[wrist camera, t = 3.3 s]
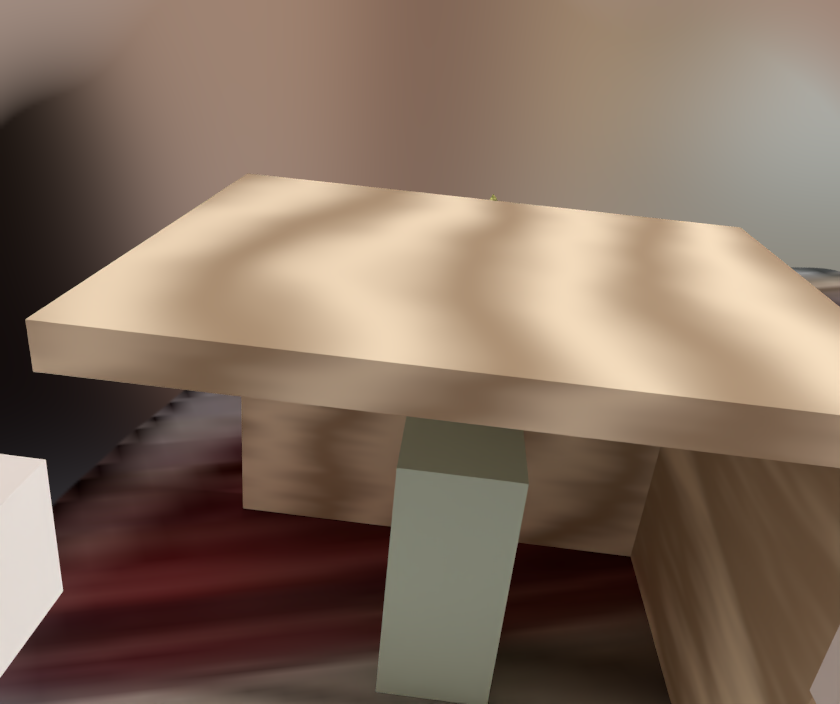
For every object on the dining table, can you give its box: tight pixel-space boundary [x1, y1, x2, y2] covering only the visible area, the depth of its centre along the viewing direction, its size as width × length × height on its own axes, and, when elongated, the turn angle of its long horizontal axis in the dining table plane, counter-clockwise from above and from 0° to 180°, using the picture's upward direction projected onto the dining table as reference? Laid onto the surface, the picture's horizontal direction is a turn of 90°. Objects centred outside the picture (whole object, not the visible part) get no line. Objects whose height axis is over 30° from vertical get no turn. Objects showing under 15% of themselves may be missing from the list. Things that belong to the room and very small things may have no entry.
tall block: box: [376, 416, 529, 704], centre depth 32 cm, size 5×5×12 cm
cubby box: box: [26, 174, 840, 704], centre depth 31 cm, size 24×20×20 cm
